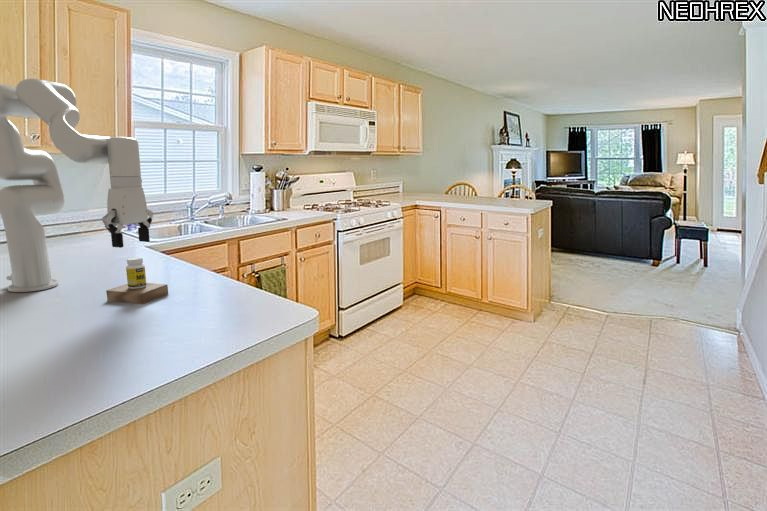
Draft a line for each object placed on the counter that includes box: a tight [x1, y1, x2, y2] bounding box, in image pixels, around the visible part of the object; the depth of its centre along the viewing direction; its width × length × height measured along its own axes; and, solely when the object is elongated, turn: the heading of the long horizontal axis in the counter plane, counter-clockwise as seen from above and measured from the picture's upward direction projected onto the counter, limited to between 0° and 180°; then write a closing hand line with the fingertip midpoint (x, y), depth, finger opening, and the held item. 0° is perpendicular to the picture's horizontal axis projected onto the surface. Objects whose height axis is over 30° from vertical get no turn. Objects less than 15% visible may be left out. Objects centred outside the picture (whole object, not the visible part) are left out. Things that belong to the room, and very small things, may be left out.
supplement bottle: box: [125, 256, 147, 289], centre depth 132 cm, size 5×5×8 cm
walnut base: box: [105, 282, 169, 305], centre depth 133 cm, size 12×10×3 cm
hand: (131, 244), depth 130 cm, fingers open, 9 cm apart
